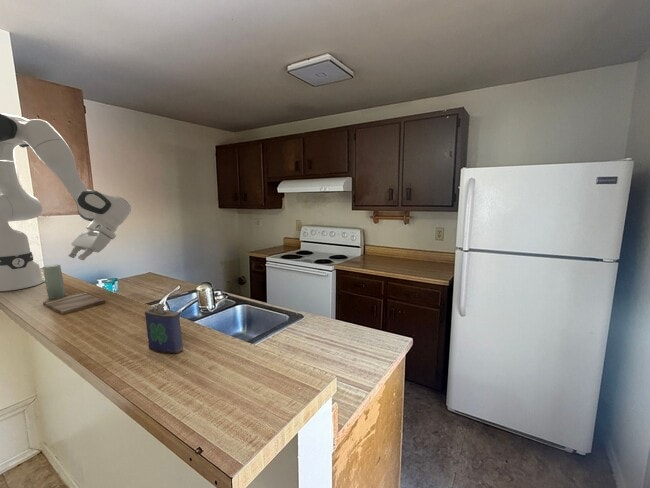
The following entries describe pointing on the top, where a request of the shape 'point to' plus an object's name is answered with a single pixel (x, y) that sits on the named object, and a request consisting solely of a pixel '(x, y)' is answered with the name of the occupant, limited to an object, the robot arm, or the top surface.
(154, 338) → the flask
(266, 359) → the top surface
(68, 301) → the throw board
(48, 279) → the green rectangular block
